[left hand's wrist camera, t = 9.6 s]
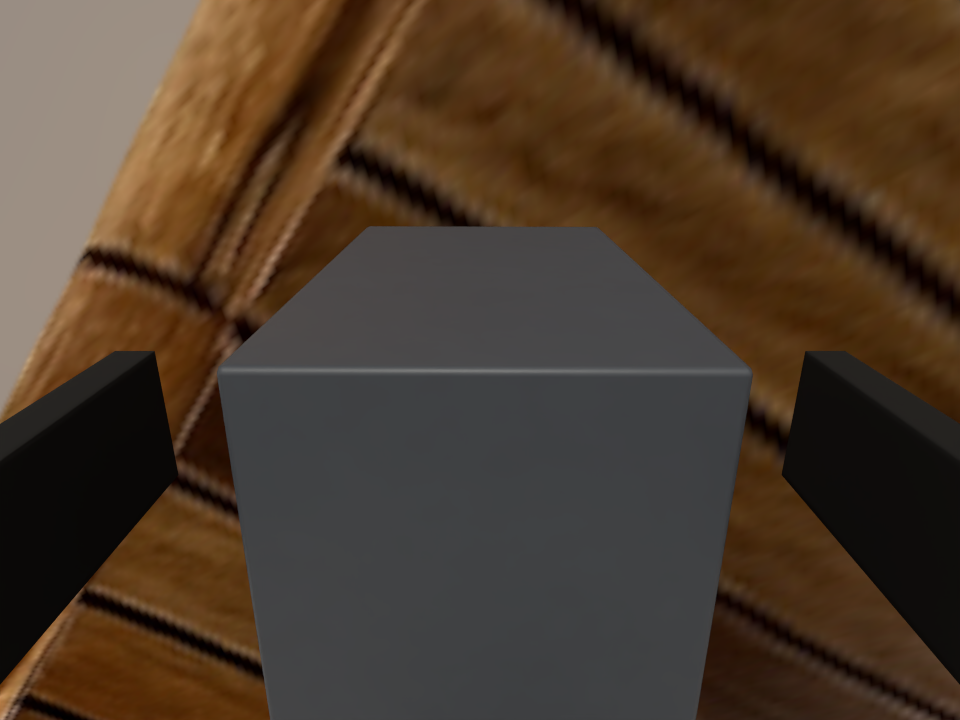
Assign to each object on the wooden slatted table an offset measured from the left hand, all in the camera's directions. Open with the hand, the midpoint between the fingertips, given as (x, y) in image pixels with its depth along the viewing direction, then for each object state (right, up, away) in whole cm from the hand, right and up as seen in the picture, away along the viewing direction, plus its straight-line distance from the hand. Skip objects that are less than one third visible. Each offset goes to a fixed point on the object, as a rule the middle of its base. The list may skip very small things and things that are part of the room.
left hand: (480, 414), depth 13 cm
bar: (0, -7, +5) cm, 9 cm away
